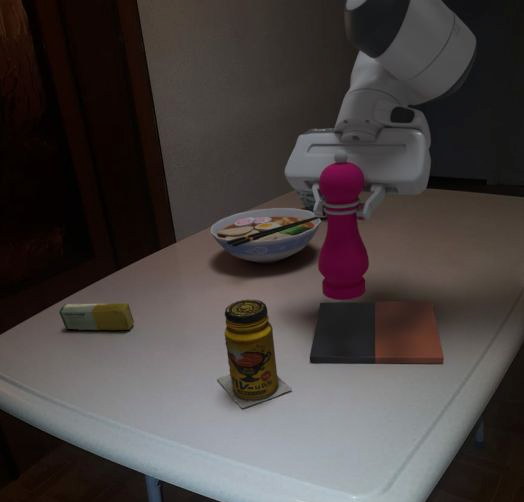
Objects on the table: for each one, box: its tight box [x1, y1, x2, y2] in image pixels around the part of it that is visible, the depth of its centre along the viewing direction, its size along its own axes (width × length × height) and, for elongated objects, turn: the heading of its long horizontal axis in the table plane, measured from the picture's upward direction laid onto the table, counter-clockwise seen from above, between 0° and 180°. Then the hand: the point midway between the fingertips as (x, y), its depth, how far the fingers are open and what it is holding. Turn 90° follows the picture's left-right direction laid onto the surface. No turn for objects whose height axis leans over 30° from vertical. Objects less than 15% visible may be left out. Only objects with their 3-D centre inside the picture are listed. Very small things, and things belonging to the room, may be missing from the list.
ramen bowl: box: [210, 207, 323, 264], centre depth 116 cm, size 25×23×8 cm
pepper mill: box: [317, 150, 370, 301], centre depth 77 cm, size 7×7×20 cm
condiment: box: [216, 299, 293, 409], centre depth 72 cm, size 7×8×12 cm
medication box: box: [58, 302, 135, 331], centre depth 94 cm, size 12×3×4 cm, turn 78°
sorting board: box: [309, 300, 445, 364], centre depth 84 cm, size 18×18×1 cm
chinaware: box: [295, 189, 326, 212], centre depth 140 cm, size 15×15×8 cm
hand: (340, 217), depth 76 cm, fingers closed on pepper mill, 5 cm apart
